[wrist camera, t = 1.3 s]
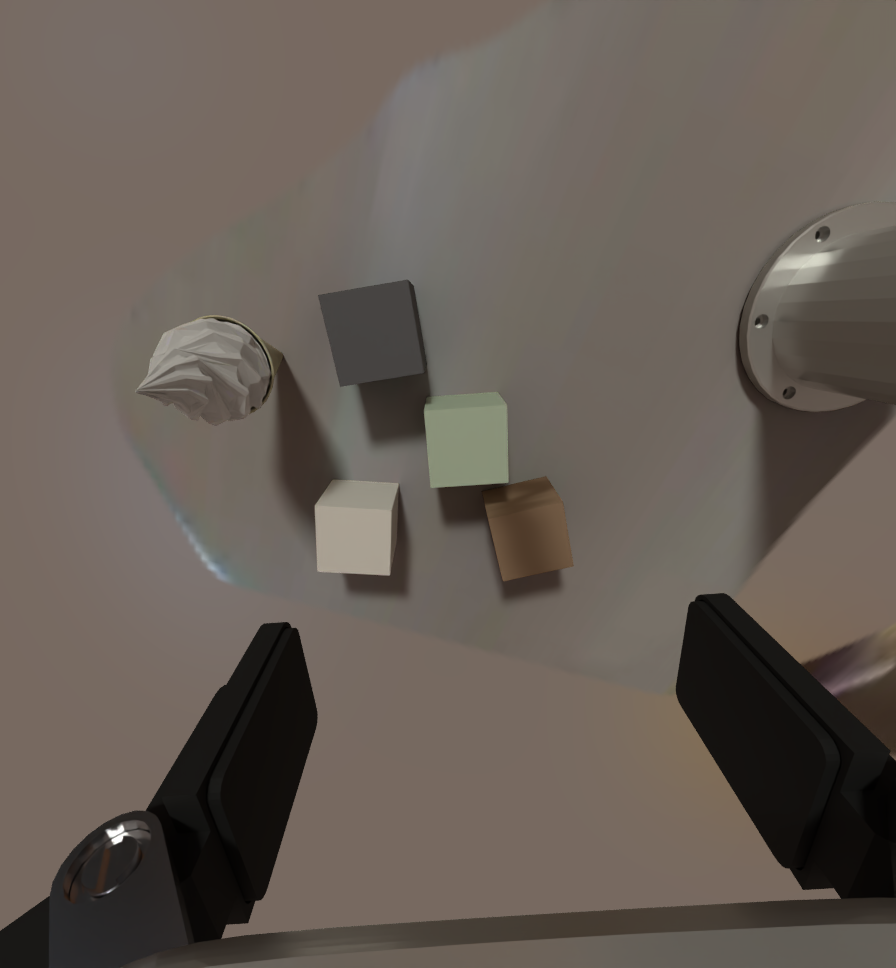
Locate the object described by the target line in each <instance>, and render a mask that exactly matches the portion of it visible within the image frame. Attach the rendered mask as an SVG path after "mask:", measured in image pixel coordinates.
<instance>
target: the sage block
mask: <svg viewBox="0 0 896 968" xmlns="http://www.w3.org/2000/svg"><path fill="white" fill-rule="evenodd" d="M424 417H425V429H426V440H427V451H428V462H429V474H430V485H431V488H438V487H453V486H468V485H482V484H497V483H509V482H508V431H507V404H506V403H505V402H504V400H503V399H502V398H501V396H500V395H499V394H498V392H490V393H476V394H462V395H448V396H433V397H427V398H426V403H425V408H424Z"/></svg>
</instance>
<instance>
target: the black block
mask: <svg viewBox="0 0 896 968" xmlns="http://www.w3.org/2000/svg"><path fill="white" fill-rule="evenodd" d="M318 297H319V301H320V305H321V309H322V314H323V318H324V322H325V326H326V330H327V334H328V338H329V342H330V346H331V351H332V355H333V359H334V363H335V367H336V371H337V375H338V379H339V384H340V387H341V386H347V385H353V384H360V383H366V382H372V381H378V380H384V379H390V378H397V377H403V376H409V375H415V374H421V373H424V371H425V368H426V365H427V362H426V356H425V351H424V345H423V339H422V333H421V327H420V321H419V315H418V309H417V303H416V297H415V291H414V286H413V285H412V284H411V282H410V281H409V280H403V281H397V282H392V283H386V284H380V285H374V286H368V287H363V288H357V289H351V290H345V291H339V292H334V293H328V294H322V295H318Z"/></svg>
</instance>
